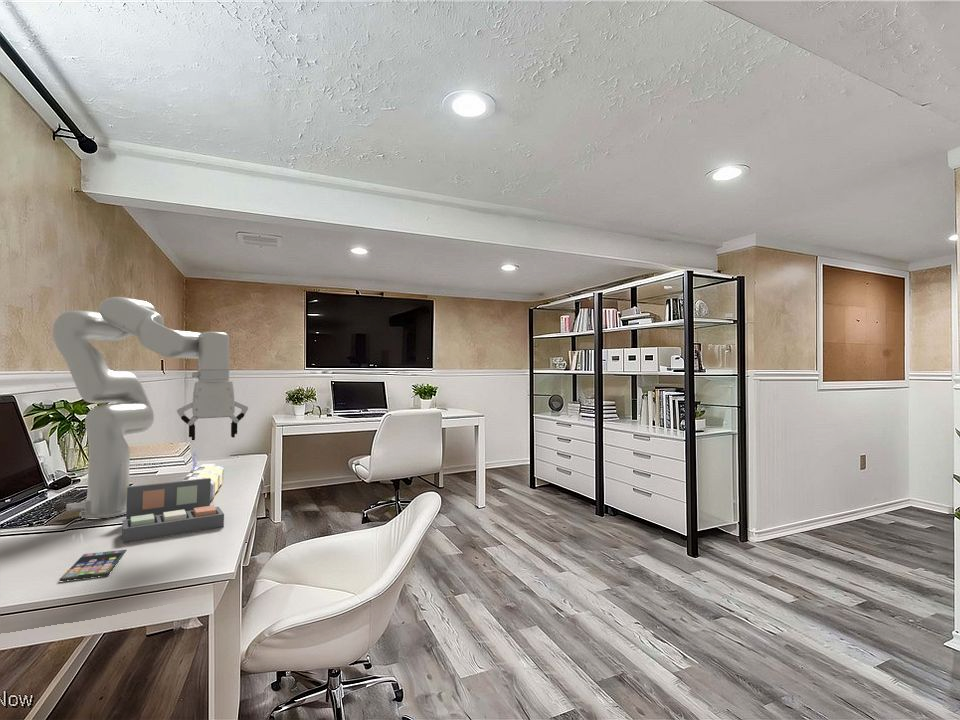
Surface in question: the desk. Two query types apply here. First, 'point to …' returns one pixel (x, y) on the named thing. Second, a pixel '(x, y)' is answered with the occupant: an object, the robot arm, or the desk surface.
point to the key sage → (142, 520)
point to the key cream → (174, 515)
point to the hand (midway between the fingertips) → (213, 438)
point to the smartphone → (93, 565)
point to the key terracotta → (204, 511)
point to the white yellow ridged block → (207, 475)
